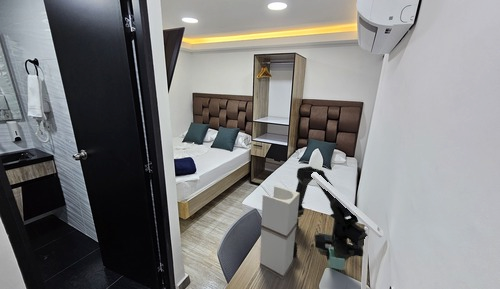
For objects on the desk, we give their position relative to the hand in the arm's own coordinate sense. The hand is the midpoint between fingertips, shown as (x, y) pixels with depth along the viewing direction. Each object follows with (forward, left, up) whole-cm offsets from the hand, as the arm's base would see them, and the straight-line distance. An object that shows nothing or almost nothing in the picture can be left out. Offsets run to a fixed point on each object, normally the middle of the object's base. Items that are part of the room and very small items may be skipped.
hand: (335, 261), depth 89 cm
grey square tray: (-1, +14, -4) cm, 15 cm away
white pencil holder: (-25, -5, -4) cm, 26 cm away
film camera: (-23, +6, -4) cm, 24 cm away
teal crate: (0, 0, -1) cm, 1 cm away
